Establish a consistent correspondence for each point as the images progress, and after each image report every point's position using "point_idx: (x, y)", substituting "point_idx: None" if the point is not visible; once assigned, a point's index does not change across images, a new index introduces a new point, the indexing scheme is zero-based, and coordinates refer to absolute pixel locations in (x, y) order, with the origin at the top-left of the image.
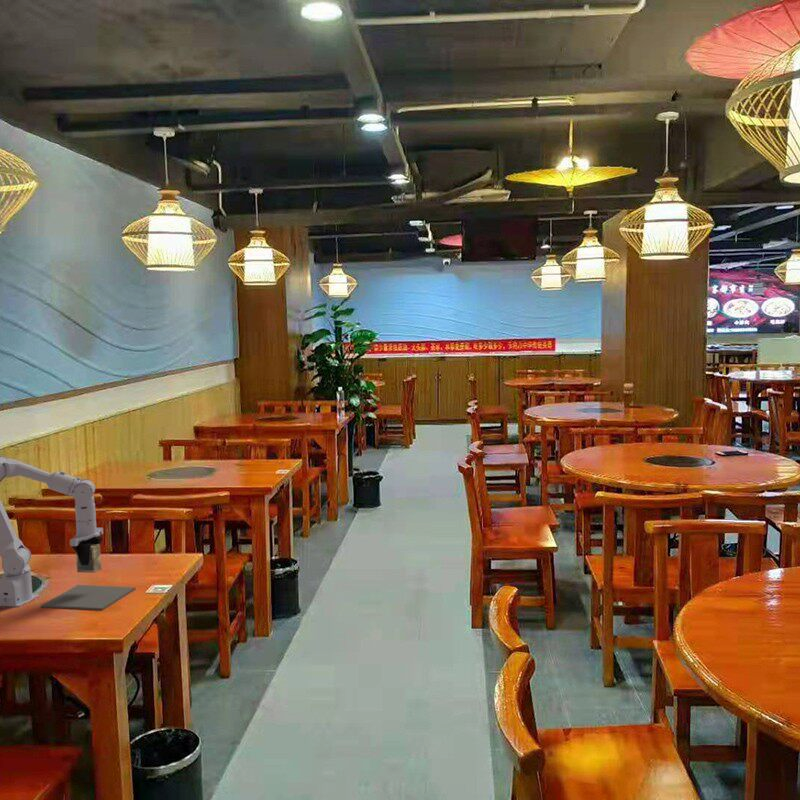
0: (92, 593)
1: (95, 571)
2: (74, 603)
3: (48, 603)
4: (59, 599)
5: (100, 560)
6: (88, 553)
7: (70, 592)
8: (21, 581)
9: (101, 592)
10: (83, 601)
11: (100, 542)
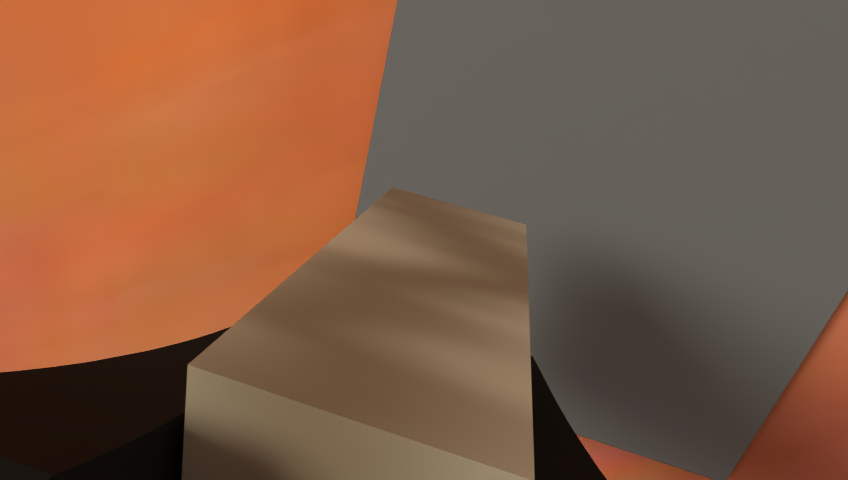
0: (538, 201)
1: (516, 225)
2: (770, 274)
3: (699, 447)
4: (627, 398)
5: (368, 221)
6: (552, 463)
7: None
8: None
9: (527, 132)
10: (740, 216)
11: (46, 380)
